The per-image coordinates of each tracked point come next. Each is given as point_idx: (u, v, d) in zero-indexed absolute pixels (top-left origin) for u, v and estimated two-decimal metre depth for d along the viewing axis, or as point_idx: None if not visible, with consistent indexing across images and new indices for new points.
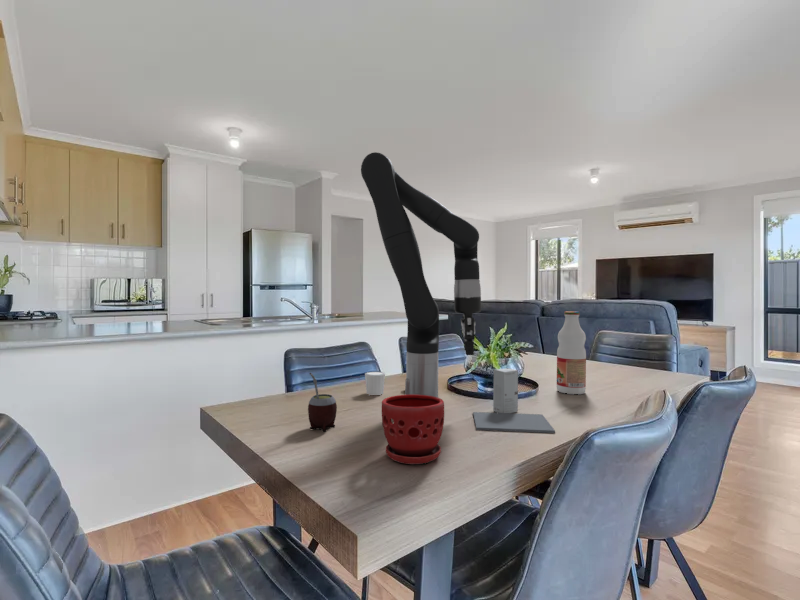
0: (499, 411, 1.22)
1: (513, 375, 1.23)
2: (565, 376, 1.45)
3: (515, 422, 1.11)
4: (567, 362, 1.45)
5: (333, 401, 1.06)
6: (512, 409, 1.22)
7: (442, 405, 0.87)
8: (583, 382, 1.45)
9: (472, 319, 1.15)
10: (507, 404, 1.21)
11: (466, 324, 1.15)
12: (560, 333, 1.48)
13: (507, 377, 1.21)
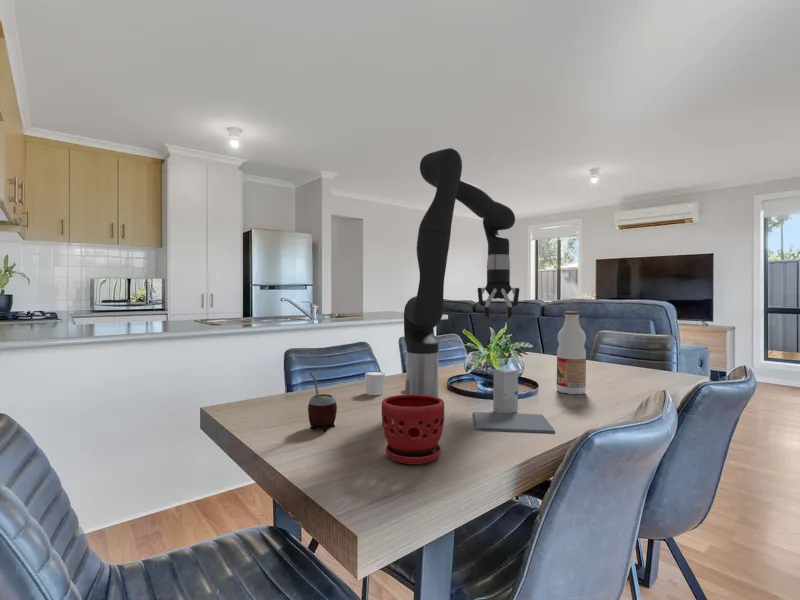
0: (499, 411, 1.22)
1: (513, 375, 1.23)
2: (565, 376, 1.45)
3: (515, 422, 1.11)
4: (567, 362, 1.45)
5: (333, 401, 1.06)
6: (512, 409, 1.22)
7: (442, 405, 0.87)
8: (583, 382, 1.45)
9: None
10: (507, 404, 1.21)
11: None
12: (560, 333, 1.48)
13: (507, 377, 1.21)
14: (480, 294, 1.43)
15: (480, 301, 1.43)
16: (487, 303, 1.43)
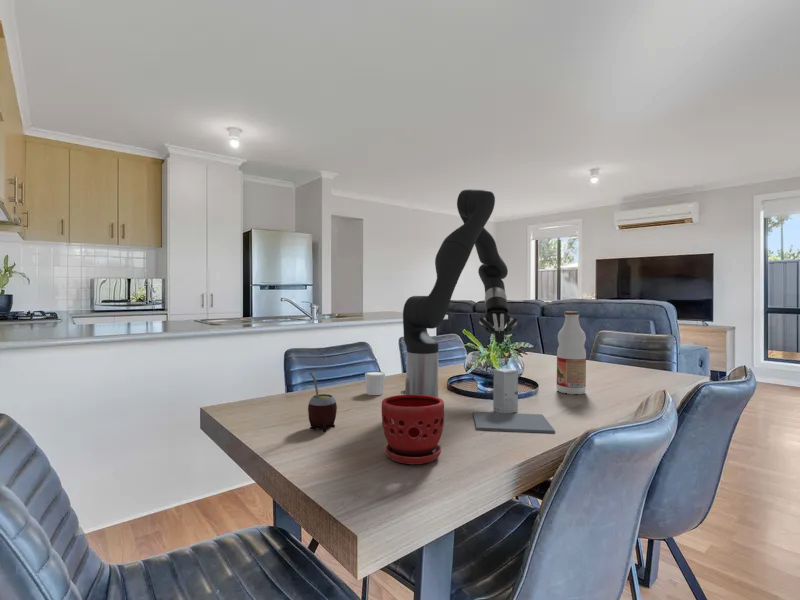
0: (499, 411, 1.22)
1: (513, 375, 1.23)
2: (565, 376, 1.45)
3: (515, 422, 1.11)
4: (567, 362, 1.45)
5: (333, 401, 1.06)
6: (512, 409, 1.22)
7: (442, 405, 0.87)
8: (583, 382, 1.45)
9: None
10: (507, 404, 1.21)
11: (514, 323, 1.41)
12: (560, 333, 1.48)
13: (507, 377, 1.21)
14: (484, 322, 1.42)
15: (490, 326, 1.40)
16: (496, 327, 1.40)
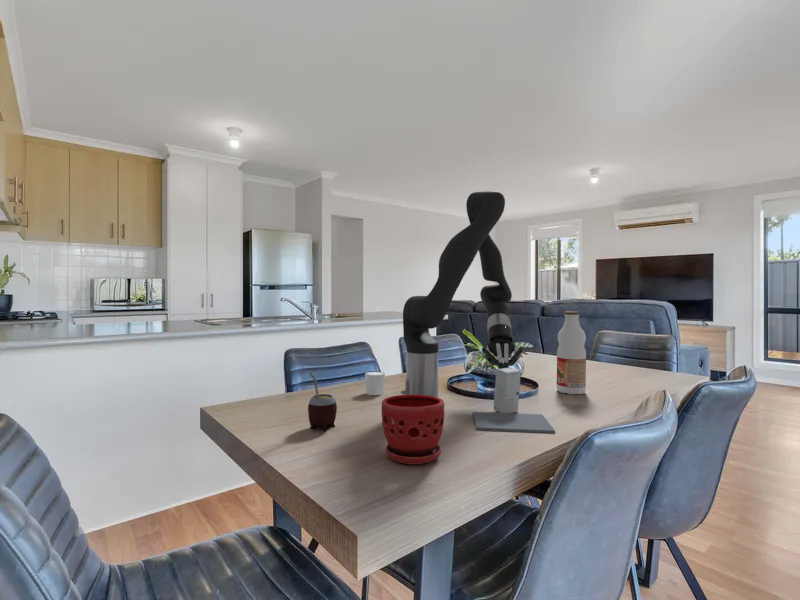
0: (499, 410, 1.22)
1: (516, 376, 1.22)
2: (565, 376, 1.45)
3: (515, 422, 1.11)
4: (567, 362, 1.45)
5: (333, 401, 1.06)
6: (513, 409, 1.22)
7: (442, 405, 0.87)
8: (583, 382, 1.45)
9: (521, 354, 1.32)
10: (508, 404, 1.21)
11: (520, 354, 1.30)
12: (560, 333, 1.48)
13: (510, 377, 1.21)
14: (487, 352, 1.31)
15: (493, 357, 1.30)
16: (499, 359, 1.29)
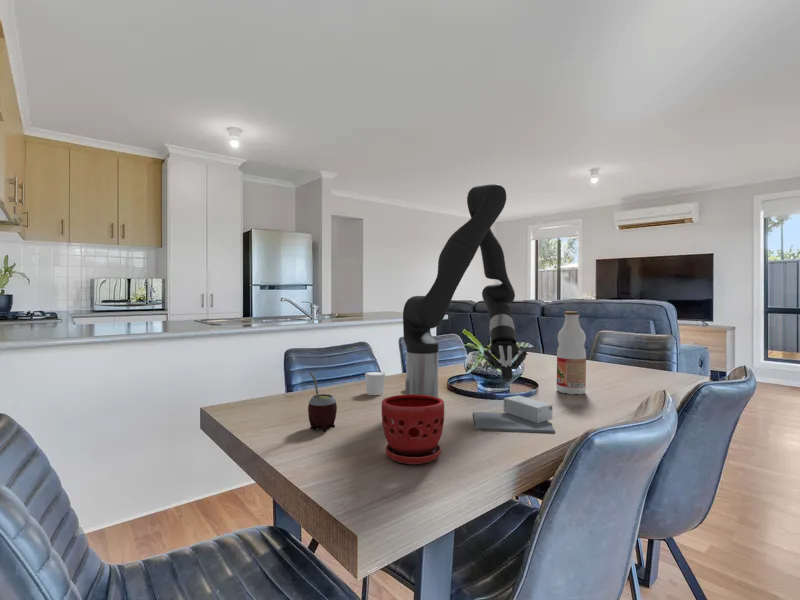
0: (504, 407, 1.20)
1: None
2: (564, 376, 1.45)
3: (515, 422, 1.11)
4: (567, 362, 1.45)
5: (333, 401, 1.06)
6: None
7: (442, 405, 0.87)
8: (583, 382, 1.45)
9: (525, 357, 1.26)
10: None
11: (523, 357, 1.24)
12: (560, 333, 1.48)
13: None
14: (490, 355, 1.25)
15: (495, 360, 1.23)
16: (502, 362, 1.23)
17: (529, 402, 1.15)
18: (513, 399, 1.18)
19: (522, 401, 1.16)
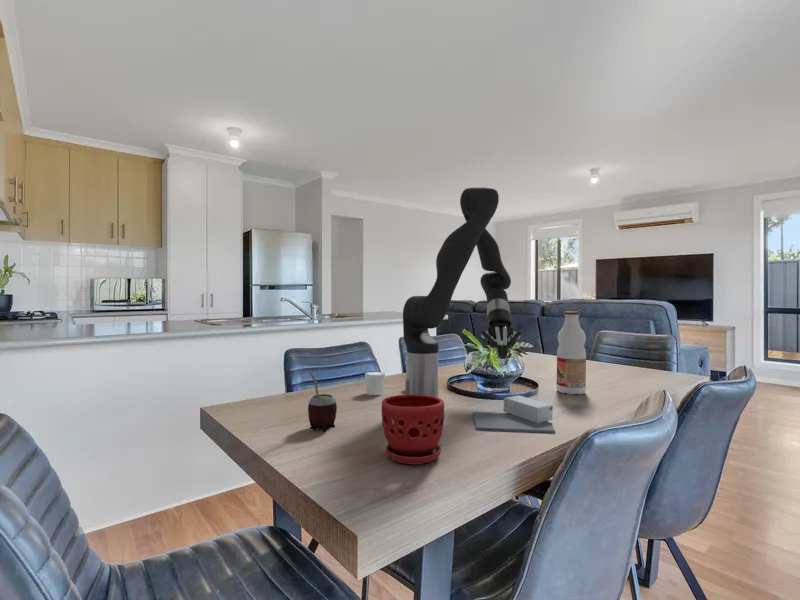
0: (504, 406, 1.20)
1: None
2: (565, 376, 1.45)
3: (515, 422, 1.11)
4: (567, 362, 1.45)
5: (333, 401, 1.06)
6: None
7: (442, 405, 0.87)
8: (583, 382, 1.45)
9: (519, 337, 1.37)
10: None
11: (518, 337, 1.35)
12: (560, 333, 1.48)
13: None
14: (487, 335, 1.36)
15: (492, 340, 1.35)
16: (498, 341, 1.34)
17: (529, 402, 1.15)
18: (513, 399, 1.18)
19: (522, 401, 1.16)
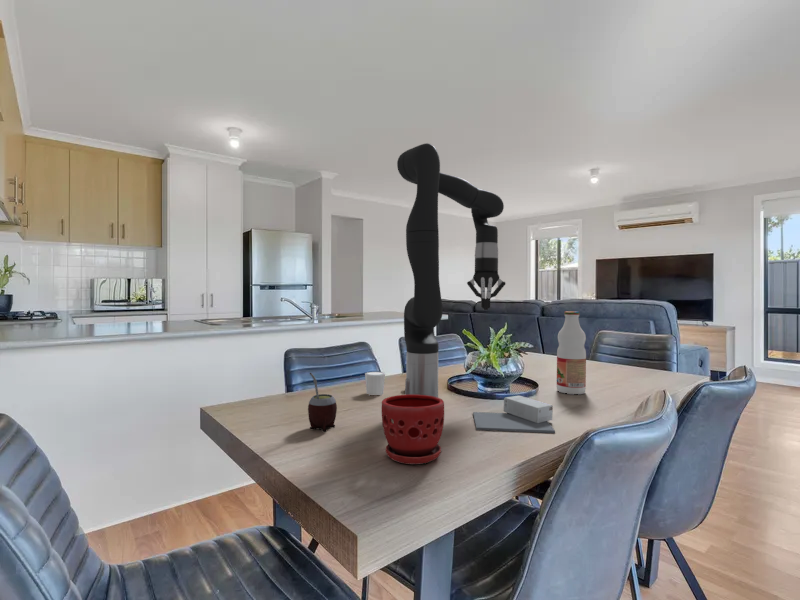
0: (504, 406, 1.20)
1: None
2: (564, 376, 1.45)
3: (515, 422, 1.11)
4: (567, 362, 1.45)
5: (333, 401, 1.06)
6: None
7: (442, 405, 0.87)
8: (583, 382, 1.45)
9: None
10: None
11: None
12: (560, 333, 1.48)
13: None
14: (472, 287, 1.40)
15: (477, 292, 1.40)
16: (483, 294, 1.40)
17: (529, 402, 1.15)
18: (513, 399, 1.18)
19: (522, 401, 1.16)
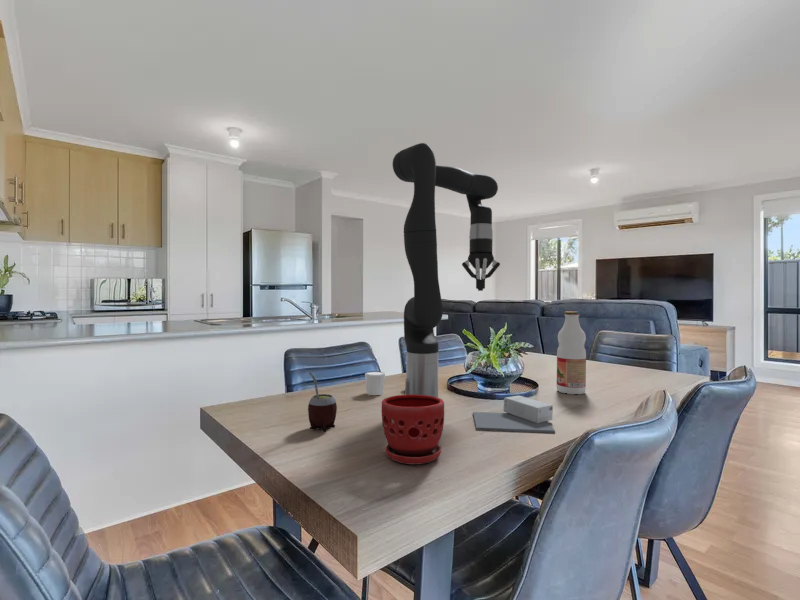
0: (504, 406, 1.20)
1: None
2: (565, 376, 1.45)
3: (515, 422, 1.11)
4: (567, 362, 1.45)
5: (333, 401, 1.06)
6: None
7: (442, 405, 0.87)
8: (583, 382, 1.45)
9: None
10: None
11: None
12: (560, 333, 1.48)
13: None
14: (467, 268, 1.42)
15: (472, 273, 1.42)
16: (477, 275, 1.41)
17: (529, 402, 1.15)
18: (513, 399, 1.18)
19: (522, 401, 1.16)
